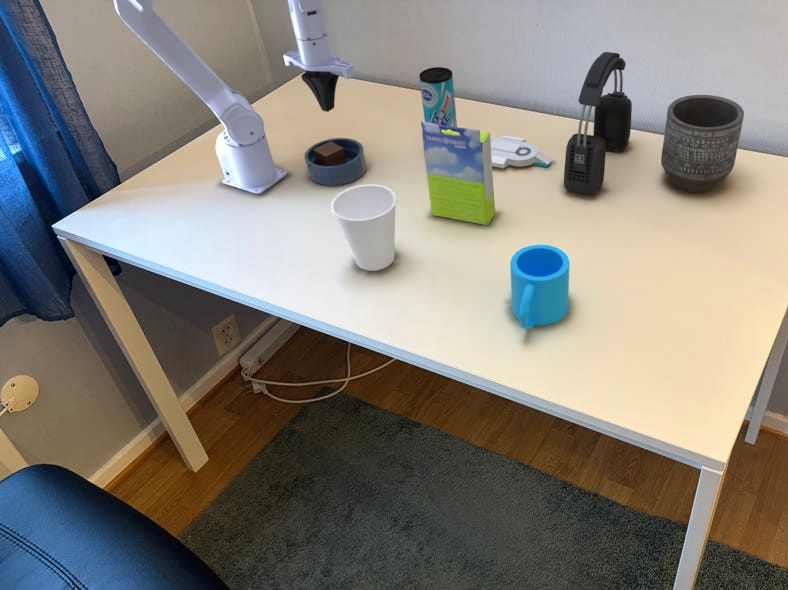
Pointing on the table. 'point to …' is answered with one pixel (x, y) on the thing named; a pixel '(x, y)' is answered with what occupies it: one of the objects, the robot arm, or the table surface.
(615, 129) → the headphones
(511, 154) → the toy rocket
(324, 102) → the robot arm
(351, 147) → the bowl
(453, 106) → the blue printed cylinder
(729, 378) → the table surface
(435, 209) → the box
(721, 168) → the planter
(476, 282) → the table surface
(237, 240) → the table surface
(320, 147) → the block
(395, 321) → the table surface
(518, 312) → the mug
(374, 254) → the cup
